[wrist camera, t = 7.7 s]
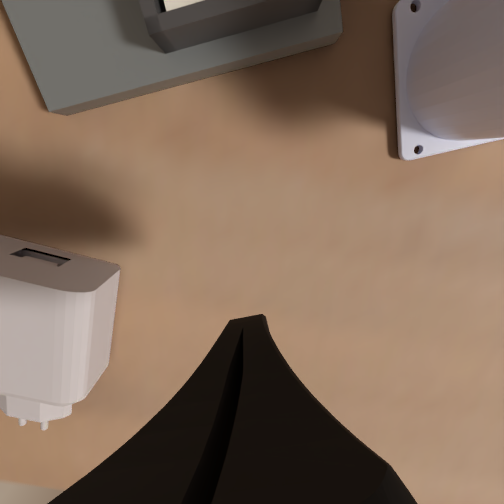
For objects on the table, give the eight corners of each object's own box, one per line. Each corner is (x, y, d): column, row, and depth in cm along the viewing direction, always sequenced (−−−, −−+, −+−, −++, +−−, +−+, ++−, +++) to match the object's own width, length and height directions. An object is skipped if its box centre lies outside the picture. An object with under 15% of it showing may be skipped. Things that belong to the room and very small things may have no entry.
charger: (1, 389, 24) (-7, 230, 19) (106, 411, 25) (125, 264, 20) (-58, 443, 19) (-87, 254, 14) (73, 467, 20) (87, 296, 15)
